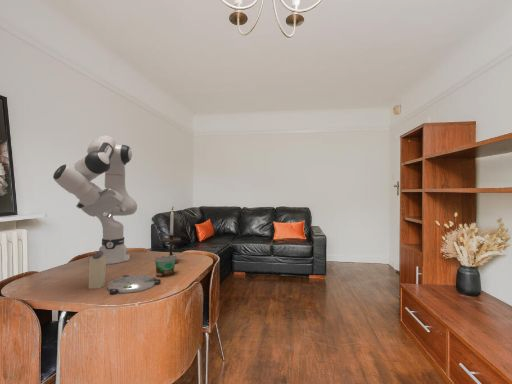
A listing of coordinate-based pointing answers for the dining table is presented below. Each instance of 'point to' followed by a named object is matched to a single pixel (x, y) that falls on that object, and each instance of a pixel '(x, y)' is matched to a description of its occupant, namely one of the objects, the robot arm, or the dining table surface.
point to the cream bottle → (97, 270)
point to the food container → (165, 265)
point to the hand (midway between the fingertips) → (117, 213)
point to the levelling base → (132, 284)
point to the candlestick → (171, 235)
